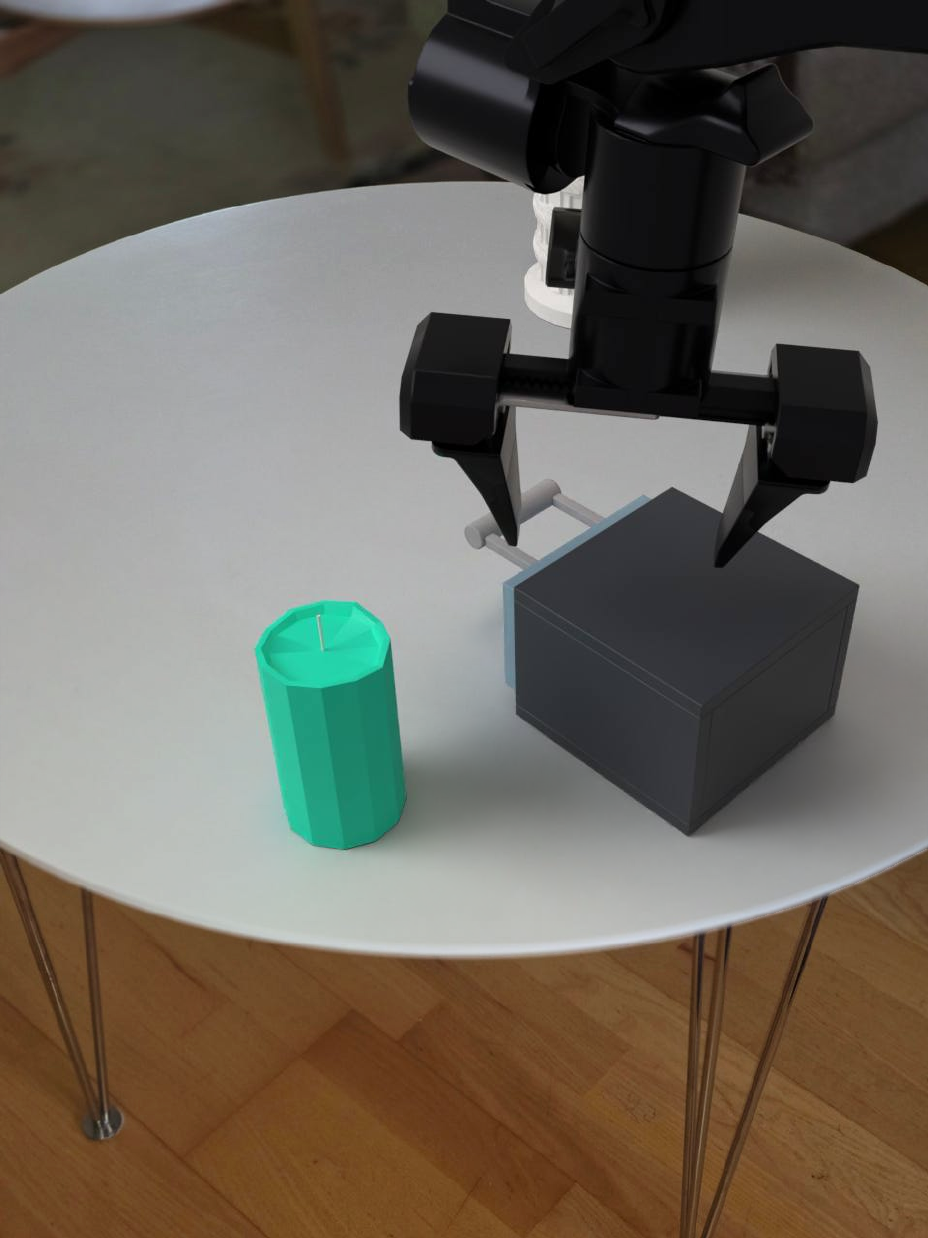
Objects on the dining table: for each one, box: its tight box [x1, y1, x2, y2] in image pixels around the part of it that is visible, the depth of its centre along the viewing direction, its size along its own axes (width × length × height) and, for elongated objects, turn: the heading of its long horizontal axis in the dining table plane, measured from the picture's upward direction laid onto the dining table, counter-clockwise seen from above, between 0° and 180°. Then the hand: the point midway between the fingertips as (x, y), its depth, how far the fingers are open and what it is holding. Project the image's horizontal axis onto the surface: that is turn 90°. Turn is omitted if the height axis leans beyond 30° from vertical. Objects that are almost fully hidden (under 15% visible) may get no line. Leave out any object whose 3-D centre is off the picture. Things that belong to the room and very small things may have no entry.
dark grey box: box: [514, 486, 860, 837], centre depth 68 cm, size 12×12×9 cm
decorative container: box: [524, 176, 584, 330], centre depth 100 cm, size 12×12×18 cm
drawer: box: [463, 478, 653, 691], centre depth 70 cm, size 16×10×7 cm, turn 43°
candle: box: [253, 599, 407, 850], centre depth 63 cm, size 6×6×12 cm
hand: (615, 550), depth 62 cm, fingers open, 9 cm apart
